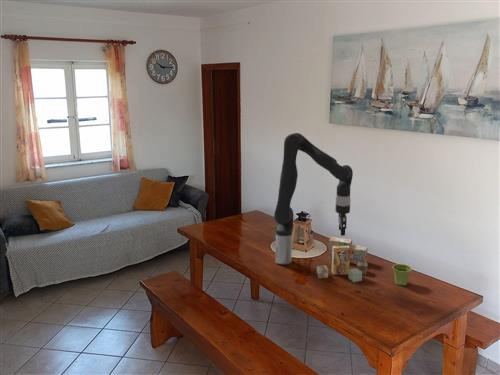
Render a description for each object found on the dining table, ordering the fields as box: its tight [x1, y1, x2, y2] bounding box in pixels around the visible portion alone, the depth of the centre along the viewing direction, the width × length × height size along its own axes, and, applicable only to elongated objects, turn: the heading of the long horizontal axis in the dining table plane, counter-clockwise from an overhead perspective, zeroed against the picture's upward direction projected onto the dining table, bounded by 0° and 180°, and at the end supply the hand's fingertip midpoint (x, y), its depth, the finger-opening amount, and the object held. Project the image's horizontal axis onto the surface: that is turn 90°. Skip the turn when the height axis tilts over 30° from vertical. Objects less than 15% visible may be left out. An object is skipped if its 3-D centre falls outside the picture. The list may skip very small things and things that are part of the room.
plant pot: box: [392, 263, 413, 287], centre depth 230 cm, size 9×9×9 cm
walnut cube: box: [356, 262, 368, 276], centre depth 243 cm, size 5×5×5 cm
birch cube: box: [316, 265, 329, 279], centre depth 239 cm, size 5×5×5 cm
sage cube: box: [347, 267, 363, 283], centre depth 235 cm, size 5×5×5 cm
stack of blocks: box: [327, 236, 368, 265], centre depth 258 cm, size 21×6×12 cm, turn 63°
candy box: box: [331, 246, 350, 276], centre depth 241 cm, size 9×4×15 cm, turn 92°
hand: (341, 232), depth 237 cm, fingers open, 8 cm apart
